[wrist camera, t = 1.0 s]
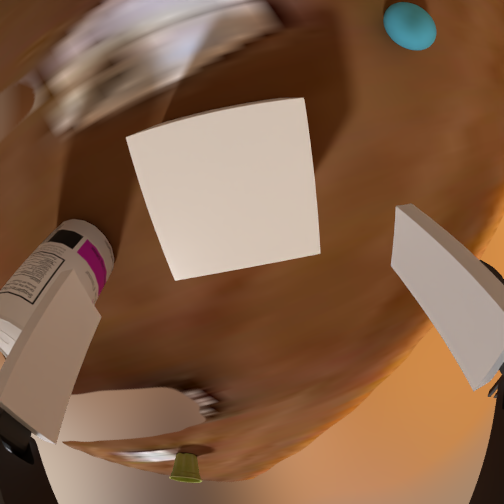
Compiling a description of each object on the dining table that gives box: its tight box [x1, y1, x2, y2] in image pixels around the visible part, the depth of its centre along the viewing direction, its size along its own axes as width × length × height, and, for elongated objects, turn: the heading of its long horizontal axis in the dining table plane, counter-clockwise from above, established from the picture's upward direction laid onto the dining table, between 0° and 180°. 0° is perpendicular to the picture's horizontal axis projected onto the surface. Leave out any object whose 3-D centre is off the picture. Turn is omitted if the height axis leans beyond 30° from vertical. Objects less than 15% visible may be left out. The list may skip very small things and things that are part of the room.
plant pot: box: [170, 453, 202, 483], centre depth 60 cm, size 9×9×9 cm
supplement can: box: [0, 219, 114, 358], centre depth 21 cm, size 8×8×15 cm
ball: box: [383, 2, 436, 50], centre depth 15 cm, size 5×5×5 cm
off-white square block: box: [126, 98, 320, 281], centre depth 20 cm, size 10×10×9 cm
